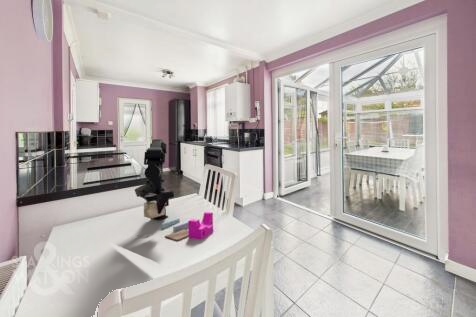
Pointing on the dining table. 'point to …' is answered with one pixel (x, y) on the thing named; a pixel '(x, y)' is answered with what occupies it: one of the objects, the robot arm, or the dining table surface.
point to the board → (178, 235)
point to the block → (152, 210)
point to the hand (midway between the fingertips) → (155, 212)
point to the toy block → (201, 226)
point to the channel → (177, 227)
